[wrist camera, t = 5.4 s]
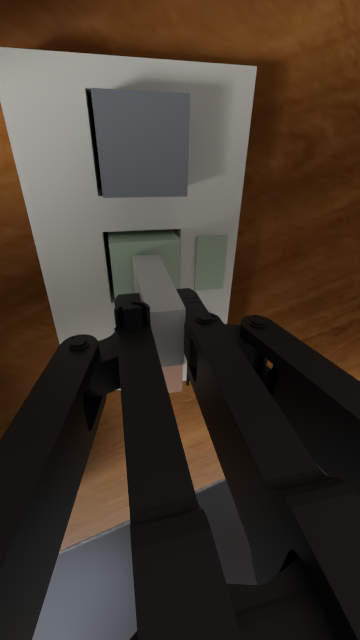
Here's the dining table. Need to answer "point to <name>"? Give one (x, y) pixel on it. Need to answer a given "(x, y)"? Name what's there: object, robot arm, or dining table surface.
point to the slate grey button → (142, 142)
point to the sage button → (142, 244)
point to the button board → (134, 212)
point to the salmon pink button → (173, 378)
